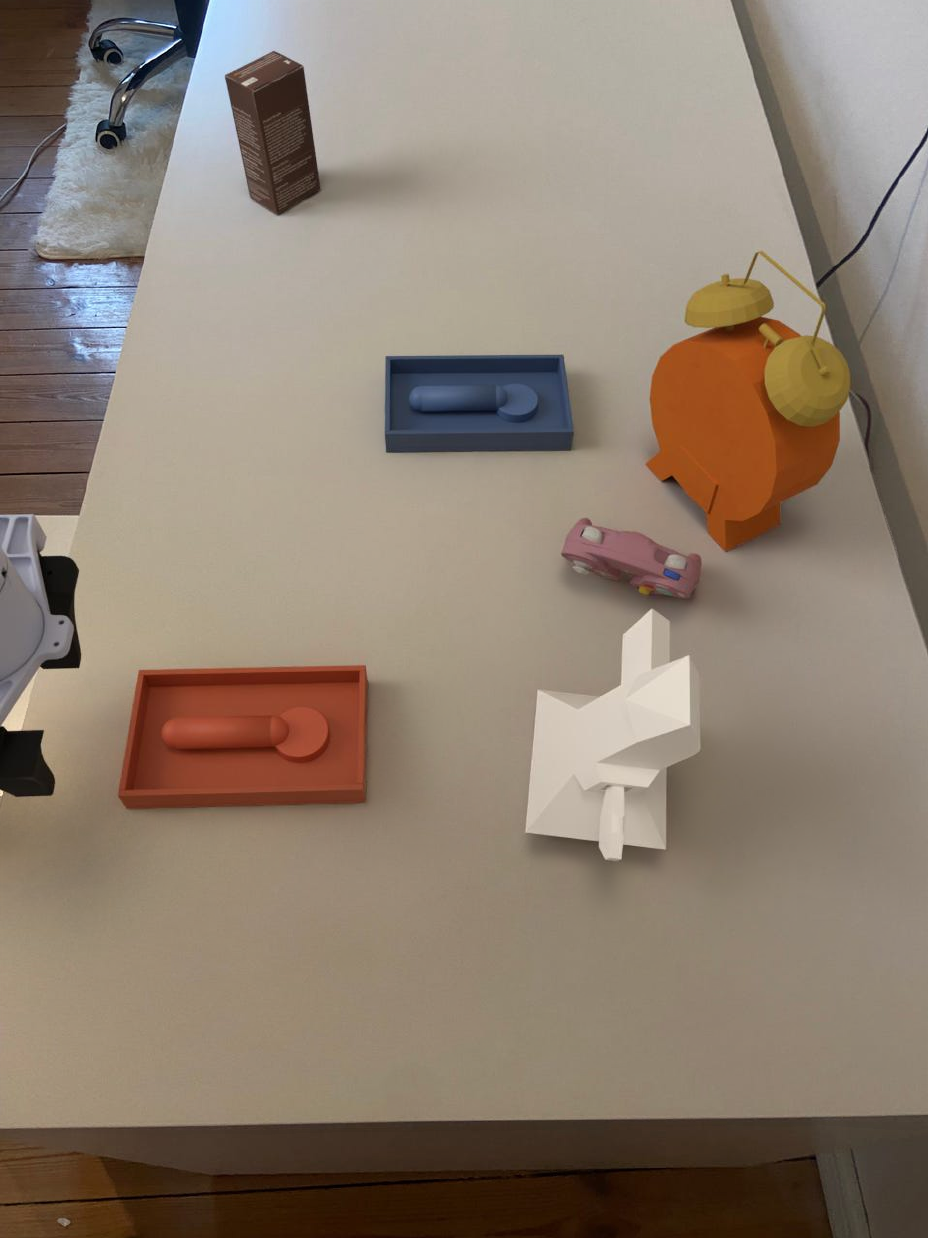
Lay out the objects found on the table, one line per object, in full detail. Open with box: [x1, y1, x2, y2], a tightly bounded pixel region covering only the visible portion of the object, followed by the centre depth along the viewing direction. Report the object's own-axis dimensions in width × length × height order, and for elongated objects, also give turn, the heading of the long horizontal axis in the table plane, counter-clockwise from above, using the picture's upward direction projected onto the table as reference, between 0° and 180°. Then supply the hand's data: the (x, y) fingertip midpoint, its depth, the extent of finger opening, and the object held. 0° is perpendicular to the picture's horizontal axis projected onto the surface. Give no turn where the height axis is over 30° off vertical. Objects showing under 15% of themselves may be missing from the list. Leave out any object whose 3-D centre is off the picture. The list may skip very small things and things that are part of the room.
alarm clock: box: [645, 250, 851, 553], centre depth 67 cm, size 13×6×20 cm, turn 31°
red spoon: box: [161, 707, 330, 762], centre depth 61 cm, size 10×4×2 cm, turn 92°
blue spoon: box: [409, 384, 538, 422], centre depth 78 cm, size 10×4×2 cm, turn 92°
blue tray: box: [384, 354, 575, 453], centre depth 78 cm, size 15×9×2 cm, turn 92°
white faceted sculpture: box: [525, 608, 701, 862], centre depth 56 cm, size 8×14×14 cm, turn 173°
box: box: [224, 50, 321, 215], centre depth 90 cm, size 6×4×12 cm
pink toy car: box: [560, 517, 703, 599], centre depth 68 cm, size 10×5×7 cm, turn 68°
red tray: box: [117, 664, 369, 810], centre depth 62 cm, size 15×9×2 cm, turn 92°
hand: (49, 724), depth 53 cm, fingers open, 7 cm apart
